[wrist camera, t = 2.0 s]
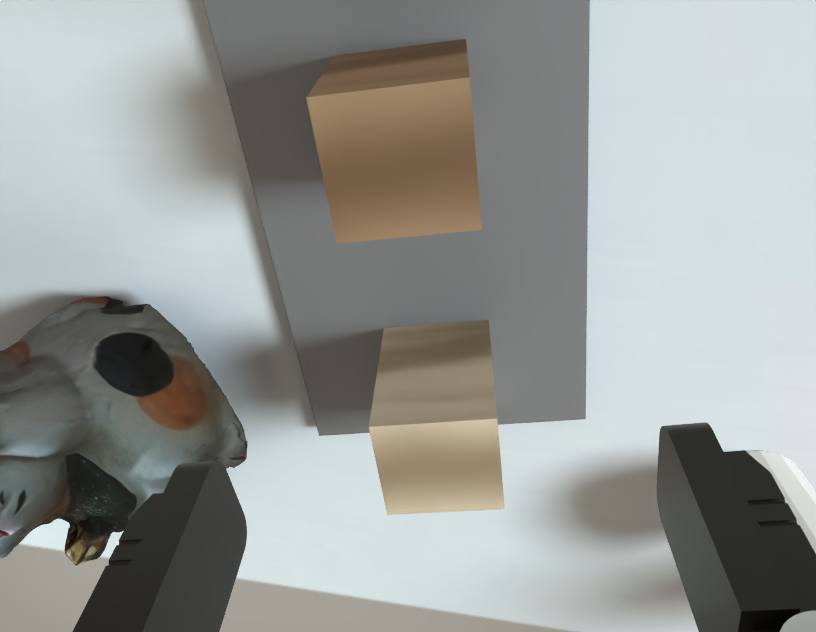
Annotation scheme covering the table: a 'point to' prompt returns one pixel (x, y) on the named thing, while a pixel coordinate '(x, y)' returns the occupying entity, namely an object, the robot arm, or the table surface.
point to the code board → (439, 253)
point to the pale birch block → (437, 419)
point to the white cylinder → (792, 490)
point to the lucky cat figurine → (102, 421)
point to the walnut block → (397, 142)
